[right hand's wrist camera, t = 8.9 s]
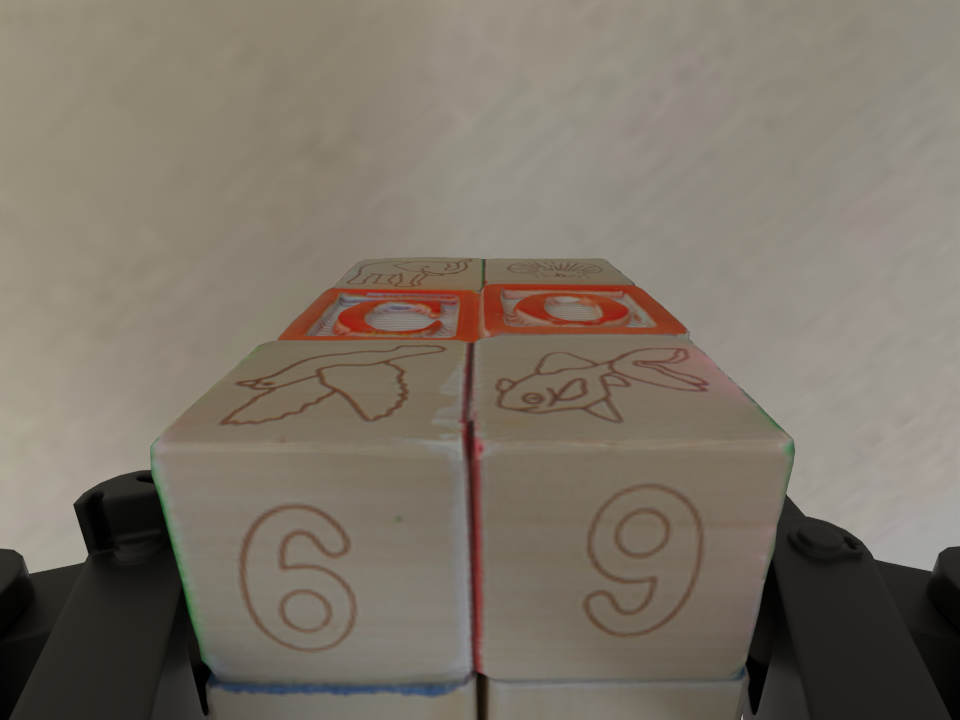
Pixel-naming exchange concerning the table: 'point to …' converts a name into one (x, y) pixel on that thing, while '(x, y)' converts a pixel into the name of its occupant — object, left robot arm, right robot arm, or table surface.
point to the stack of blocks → (475, 505)
